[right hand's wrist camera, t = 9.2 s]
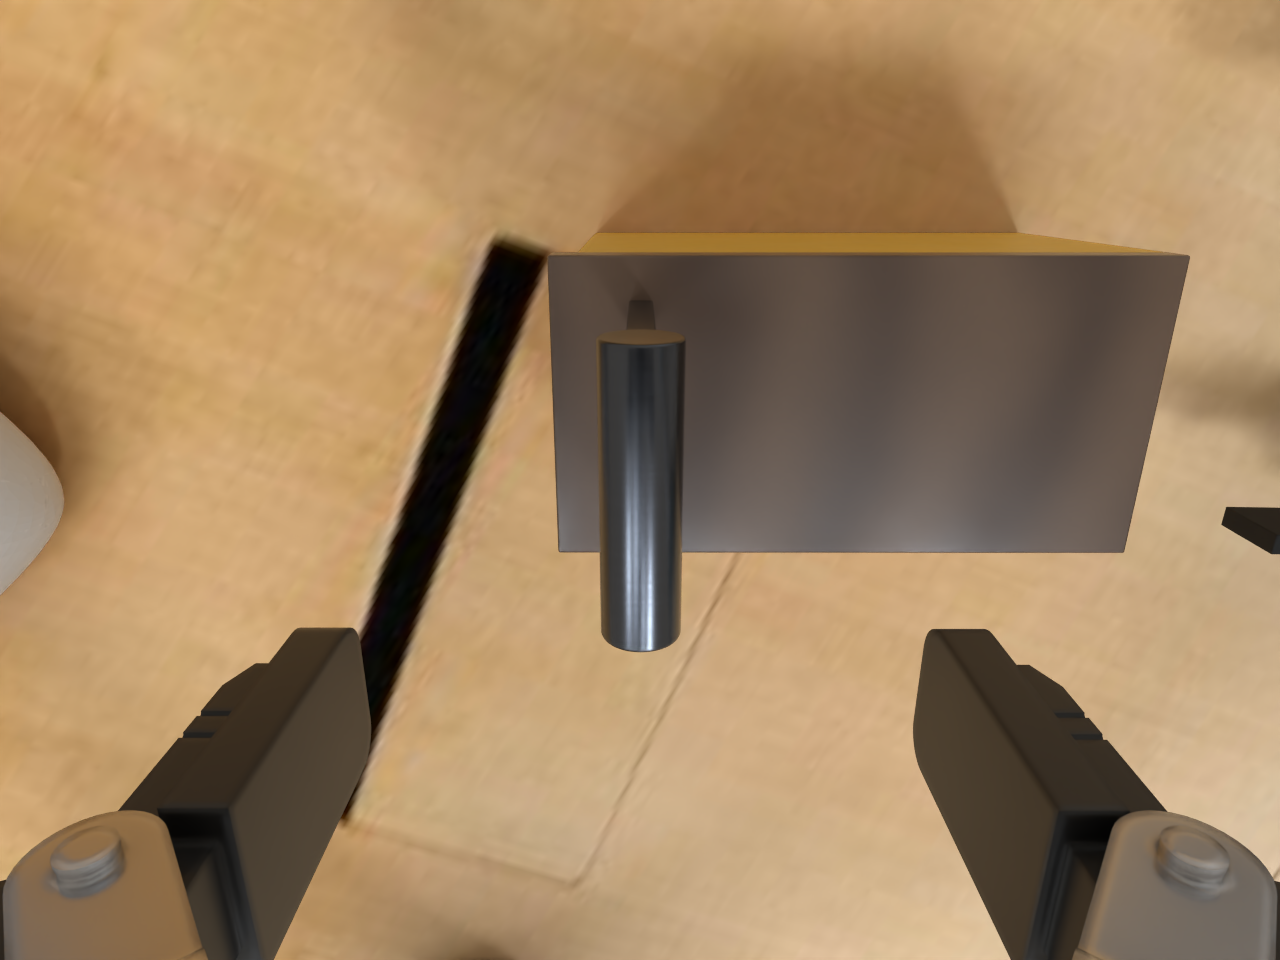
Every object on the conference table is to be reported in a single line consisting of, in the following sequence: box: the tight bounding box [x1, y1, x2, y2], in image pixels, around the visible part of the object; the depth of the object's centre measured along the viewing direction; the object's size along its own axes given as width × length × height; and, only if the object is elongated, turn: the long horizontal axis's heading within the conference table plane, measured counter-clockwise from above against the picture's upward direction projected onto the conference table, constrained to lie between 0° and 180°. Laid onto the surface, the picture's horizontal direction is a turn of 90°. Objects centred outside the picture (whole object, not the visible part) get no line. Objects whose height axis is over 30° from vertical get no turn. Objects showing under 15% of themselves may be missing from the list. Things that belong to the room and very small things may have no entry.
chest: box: [579, 233, 1160, 252], centre depth 31 cm, size 18×9×10 cm, turn 90°
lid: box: [547, 252, 1190, 652], centre depth 22 cm, size 18×9×9 cm, turn 90°
